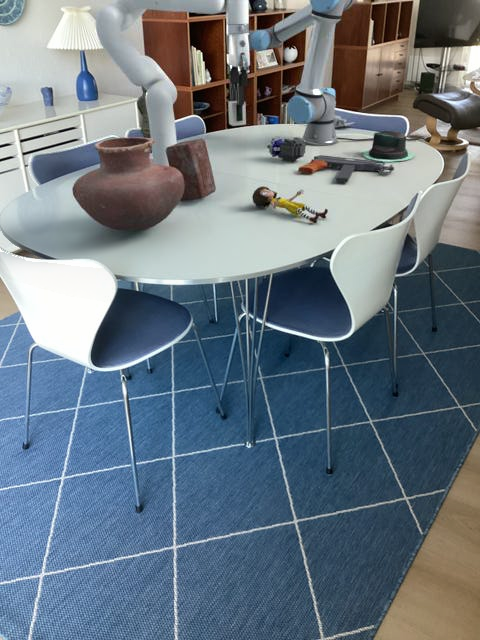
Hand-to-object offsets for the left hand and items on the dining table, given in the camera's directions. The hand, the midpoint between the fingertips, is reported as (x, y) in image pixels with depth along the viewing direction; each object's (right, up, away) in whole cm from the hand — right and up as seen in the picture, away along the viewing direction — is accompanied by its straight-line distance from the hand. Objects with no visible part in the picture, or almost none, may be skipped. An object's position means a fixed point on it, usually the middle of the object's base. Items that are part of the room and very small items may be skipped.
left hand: (238, 84), depth 196 cm
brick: (-1, +8, +61) cm, 62 cm away
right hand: (-1, +9, +60) cm, 61 cm away
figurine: (+15, -51, -26) cm, 59 cm away
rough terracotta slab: (-28, -40, -6) cm, 49 cm away
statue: (-37, -9, +48) cm, 61 cm away
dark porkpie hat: (+61, -16, +32) cm, 71 cm away
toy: (+19, -19, +28) cm, 39 cm away
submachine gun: (+39, -29, +10) cm, 50 cm away
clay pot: (-30, -57, -35) cm, 73 cm away
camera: (+49, +13, +82) cm, 96 cm away
